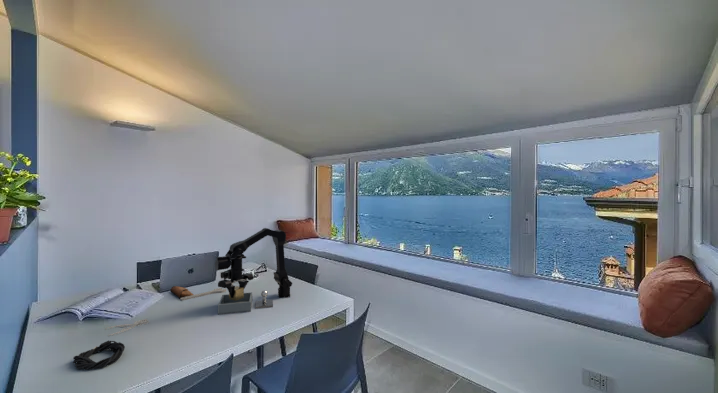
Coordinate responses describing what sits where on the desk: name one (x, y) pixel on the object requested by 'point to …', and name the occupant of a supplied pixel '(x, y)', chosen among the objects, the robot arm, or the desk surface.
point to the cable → (87, 363)
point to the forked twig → (130, 325)
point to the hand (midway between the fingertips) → (236, 296)
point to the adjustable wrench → (218, 290)
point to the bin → (235, 304)
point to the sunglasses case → (180, 291)
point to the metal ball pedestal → (264, 301)
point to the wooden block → (237, 293)
